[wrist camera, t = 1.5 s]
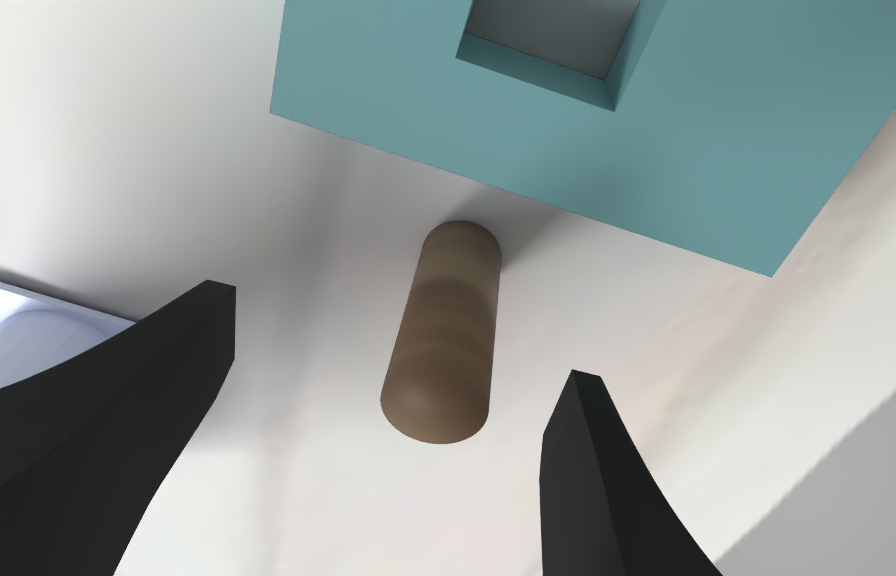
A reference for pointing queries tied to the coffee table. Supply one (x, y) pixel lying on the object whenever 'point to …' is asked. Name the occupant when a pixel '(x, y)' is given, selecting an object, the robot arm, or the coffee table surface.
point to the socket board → (615, 109)
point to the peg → (446, 338)
